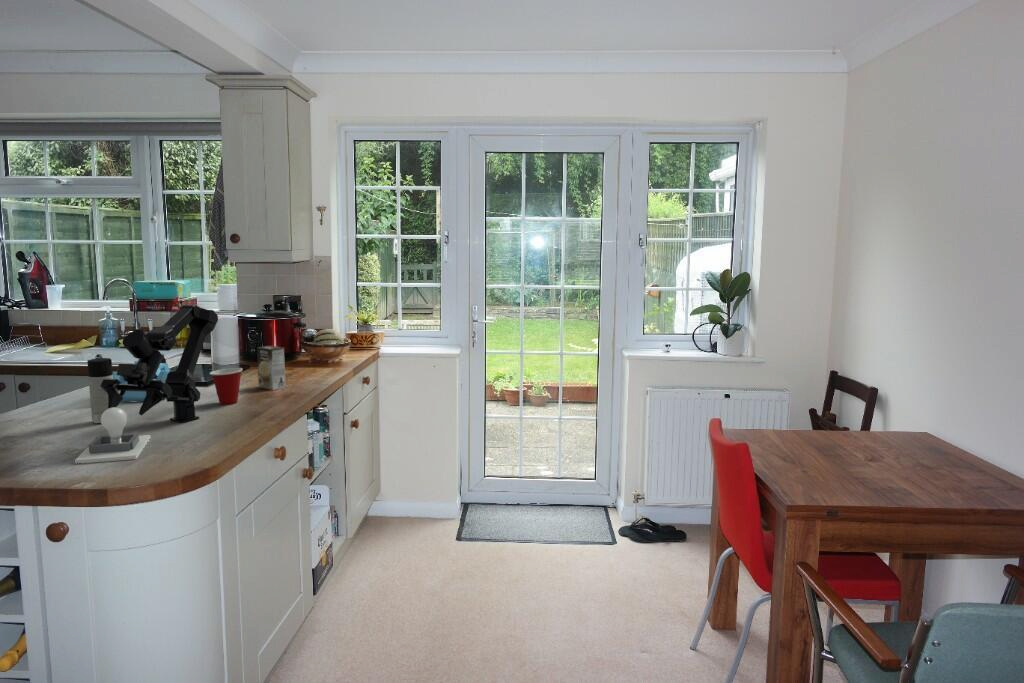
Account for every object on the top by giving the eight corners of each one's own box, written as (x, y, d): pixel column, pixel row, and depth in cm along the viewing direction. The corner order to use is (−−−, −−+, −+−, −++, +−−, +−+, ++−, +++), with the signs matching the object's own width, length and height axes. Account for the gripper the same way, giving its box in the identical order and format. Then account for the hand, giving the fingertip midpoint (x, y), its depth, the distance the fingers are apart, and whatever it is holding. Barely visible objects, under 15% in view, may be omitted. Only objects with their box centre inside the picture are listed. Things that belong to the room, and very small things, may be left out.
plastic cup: (217, 399, 247) (215, 367, 245) (248, 399, 247) (246, 366, 246) (206, 406, 236) (204, 372, 234) (238, 406, 237) (237, 372, 235)
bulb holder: (95, 442, 194) (94, 432, 193) (150, 438, 198) (149, 428, 197) (75, 463, 175) (74, 452, 174) (136, 459, 179) (135, 447, 179)
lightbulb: (110, 451, 182) (106, 411, 180) (98, 447, 185) (95, 408, 184) (134, 445, 187) (131, 406, 186) (122, 442, 191) (119, 403, 189)
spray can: (121, 419, 218) (116, 358, 215) (102, 425, 212) (97, 361, 209) (106, 417, 220) (101, 357, 217) (86, 423, 214) (81, 360, 211)
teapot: (108, 404, 238) (105, 366, 236) (118, 393, 255) (116, 357, 253) (169, 401, 244) (166, 363, 242) (175, 390, 262) (173, 355, 260)
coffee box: (257, 387, 268) (255, 347, 265) (271, 384, 273) (269, 345, 271) (273, 390, 263) (271, 349, 260) (286, 387, 268) (284, 347, 266)
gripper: (101, 351, 193) (76, 397, 184) (163, 352, 192) (141, 400, 182) (122, 372, 202) (99, 418, 193) (181, 374, 201) (161, 420, 191)
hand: (124, 414), depth 190 cm, fingers open, 9 cm apart
